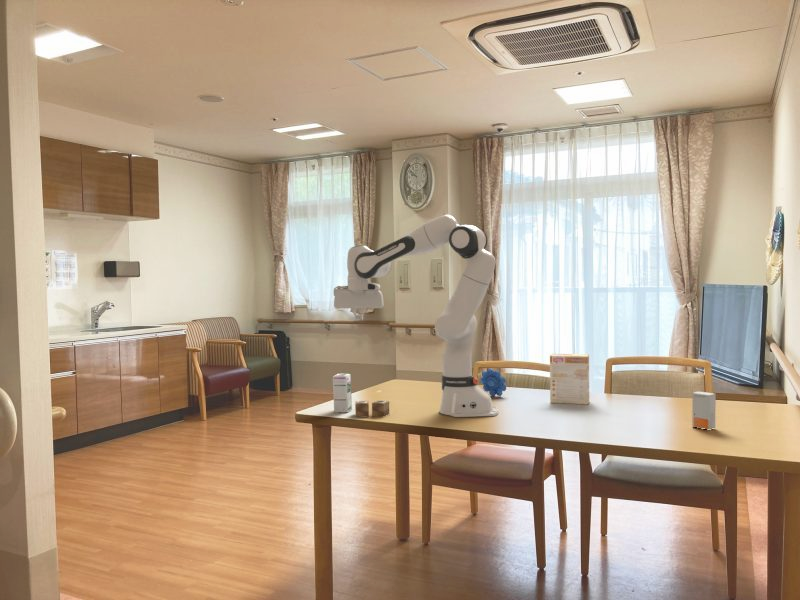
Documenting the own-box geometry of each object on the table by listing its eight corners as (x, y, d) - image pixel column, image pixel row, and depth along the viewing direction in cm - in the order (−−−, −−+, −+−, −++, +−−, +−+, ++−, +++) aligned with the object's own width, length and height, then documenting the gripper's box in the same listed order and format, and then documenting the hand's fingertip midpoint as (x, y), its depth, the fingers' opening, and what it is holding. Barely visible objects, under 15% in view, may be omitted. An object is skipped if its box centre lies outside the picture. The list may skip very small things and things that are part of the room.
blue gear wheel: (477, 397, 279) (476, 369, 279) (482, 394, 285) (481, 367, 285) (503, 398, 274) (503, 370, 274) (507, 396, 280) (507, 368, 280)
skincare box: (691, 427, 219) (691, 392, 219) (698, 425, 222) (698, 391, 221) (709, 431, 214) (709, 395, 214) (716, 429, 217) (716, 393, 216)
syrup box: (348, 412, 252) (347, 375, 251) (333, 412, 253) (332, 375, 252) (352, 409, 257) (351, 373, 257) (337, 409, 258) (336, 373, 258)
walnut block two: (389, 414, 249) (389, 400, 248) (384, 416, 244) (384, 402, 244) (377, 413, 250) (377, 399, 250) (372, 416, 246) (371, 402, 246)
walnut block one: (368, 413, 250) (368, 400, 249) (368, 416, 245) (368, 402, 244) (355, 414, 249) (355, 400, 249) (355, 417, 244) (355, 403, 244)
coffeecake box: (589, 401, 266) (589, 354, 265) (588, 405, 259) (587, 356, 258) (552, 399, 271) (552, 353, 270) (549, 402, 265) (549, 355, 264)
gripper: (331, 286, 262) (332, 320, 263) (381, 285, 260) (382, 320, 261) (335, 285, 269) (335, 319, 269) (384, 285, 266) (384, 318, 267)
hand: (359, 319), depth 265 cm, fingers closed
